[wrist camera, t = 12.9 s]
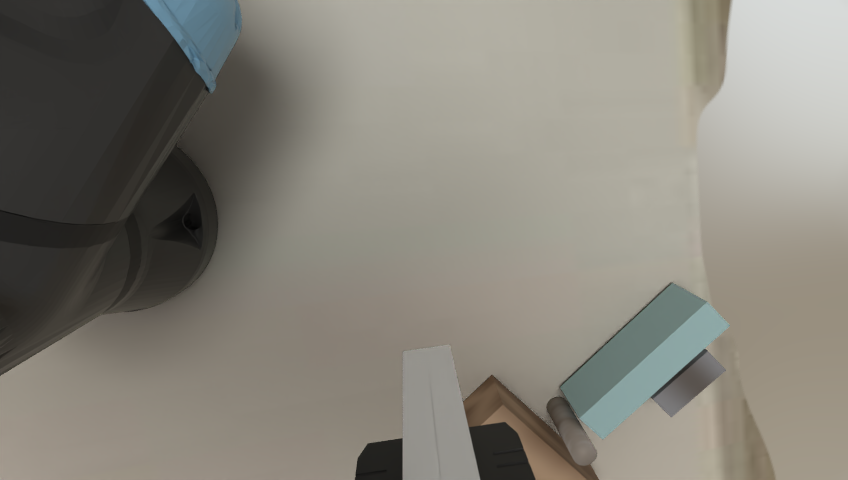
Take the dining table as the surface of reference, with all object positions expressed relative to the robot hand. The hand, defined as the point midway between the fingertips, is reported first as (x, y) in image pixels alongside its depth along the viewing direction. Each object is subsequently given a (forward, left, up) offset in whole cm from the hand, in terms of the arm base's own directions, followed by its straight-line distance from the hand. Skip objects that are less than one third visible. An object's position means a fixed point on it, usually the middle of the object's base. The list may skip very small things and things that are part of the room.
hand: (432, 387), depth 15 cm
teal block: (+6, -22, -26) cm, 35 cm away
